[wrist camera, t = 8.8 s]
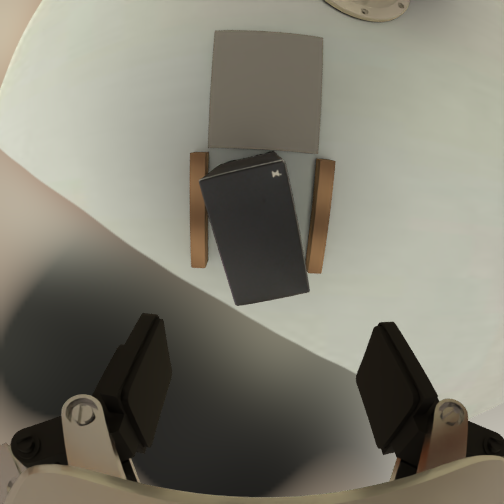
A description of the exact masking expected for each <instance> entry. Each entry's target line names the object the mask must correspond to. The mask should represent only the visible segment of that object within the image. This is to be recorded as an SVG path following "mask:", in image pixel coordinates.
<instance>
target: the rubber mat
mask: <svg viewBox="0 0 504 504" xmlns="http://www.w3.org/2000/svg"><path fill="white" fill-rule="evenodd" d="M322 68H323V38H321V37H315V36H308V35H300V34H291V33H281V32H267V31H242V30H224V31H215V36H214V48H213V61H212V76H211V92H210V110H209V133H208V148H244V149H264V150H280V151H292V152H304V153H314V154H318V147H319V133H320V116H321V96H322Z"/></svg>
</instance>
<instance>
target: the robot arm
mask: <svg viewBox="0 0 504 504" xmlns="http://www.w3.org/2000/svg"><path fill="white" fill-rule="evenodd" d="M325 1H326V2H327V3H329V4H330V5H332V6H333V7H334V8H336V9H338V10H340V11H342V12H344V13H346V14H348V15H350V16H353V17H356V18H359V19H362V20H367V21H373V22H385V21H390V20H393V19H395V18H398V17H399V16H400V15H402V14H403V13H404V12H405V11H406V10H407V8H408V5H409V1H410V0H325ZM171 376H172V368H171V363H170V358H169V352H168V347H167V340H166V334H165V327H164V321H163V319H159V316H158V315H156V314H147V313H143V314H142V315H141V316H140V318H139V320H138V322H137V323H136V325H135V327H134V329H133V330H132V332H131V334H130V336H129V338H128V339H127V341H126V343H125V345H120V346H119V347H118V348H117V350H116V352H115V353H114V355H113V357H112V359H111V361H110V363H109V364H108V366H107V368H106V370H105V372H104V374H103V376H102V377H101V379H100V381H99V383H98V385H97V387H96V389H95V391H94V393H93V395H92V396H90V395H77V396H74V397H72V398H70V399H69V400H67V401H66V403H65V404H64V406H63V408H62V414H61V416H59V417H56V418H54V419H51V420H48V421H45V422H43V423H39V424H37V425H33V426H31V427H27V428H24V429H22V430H20V431H18V432H17V433H16V434H15V435H14V436H13V438H12V441H11V444H10V445H8V444H7V443H4V444H2V445H0V504H504V439H503V437H502V436H500V434H498V433H496V432H494V431H491V430H489V429H486V428H484V427H482V426H479V425H477V424H475V423H472V422H470V421H468V413H467V410H466V408H465V407H464V406H463V405H462V404H461V403H460V402H458V401H457V400H454V399H443V400H441V401H440V402H439V400H438V398H437V397H438V395H437V393H436V391H435V390H434V388H433V386H432V384H431V382H430V381H429V379H428V377H427V375H426V374H425V372H424V370H423V368H422V367H421V365H420V363H419V362H418V360H417V358H416V356H415V355H414V353H413V351H412V350H411V348H410V347H409V345H408V343H407V342H406V340H405V338H404V337H403V335H402V334H401V332H400V330H399V329H398V327H397V326H396V324H395V323H394V322H380V323H379V324H378V326H375V327H374V329H373V332H372V335H371V338H370V340H369V343H368V346H367V349H366V352H365V354H364V357H363V360H362V362H361V365H360V367H359V370H358V372H357V375H356V383H357V386H358V388H359V391H360V395H361V397H362V400H363V404H364V406H365V410H366V413H367V416H368V419H369V422H370V425H371V429H372V432H373V435H374V438H375V442H376V445H377V447H378V448H380V449H381V450H382V453H383V455H385V454H389V453H394V452H395V454H396V457H397V459H396V462H395V466H394V469H393V472H392V475H391V478H390V481H389V482H386V483H382V484H377V485H373V486H368V487H363V488H358V489H353V490H347V491H340V492H334V493H326V494H319V495H307V496H294V497H271V498H270V497H260V498H259V497H231V496H217V495H207V494H198V493H191V492H183V491H178V490H171V489H166V488H160V487H156V486H151V485H146V484H142V483H140V481H139V479H138V476H137V473H136V471H135V468H134V465H133V463H132V460H131V458H132V457H134V456H135V453H136V452H140V453H145V451H146V447H151V445H152V442H153V439H154V435H155V432H156V428H157V424H158V421H159V417H160V414H161V410H162V407H163V404H164V400H165V397H166V394H167V390H168V387H169V384H170V380H171Z"/></svg>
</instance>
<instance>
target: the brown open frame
mask: <svg viewBox="0 0 504 504" xmlns="http://www.w3.org/2000/svg"><path fill="white" fill-rule="evenodd" d="M208 163H209V152H193V153H190V240H191V267H193V268H205V267H206V265H207V262H208V213H207V209H206V206H205V202H204V199H203V196H202V192H201V189H200V185H199V180H200V179H201V178H203V177H204V176H205V175H207V174H208ZM334 171H335V161H332V160H327V159H317V158H316V169H315V180H314V191H313V201H312V211H311V220H310V229H309V237H308V246H307V253H306V261H305V264H306V269H307V272H308V273H320V274H321V272H322V266H323V259H324V253H325V246H326V239H327V232H328V224H329V216H330V208H331V200H332V191H333V181H334Z"/></svg>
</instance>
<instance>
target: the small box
mask: <svg viewBox="0 0 504 504" xmlns="http://www.w3.org/2000/svg"><path fill="white" fill-rule="evenodd" d="M199 185H200V189H201V192H202V196H203V199H204V202H205V206H206V209H207V213H208V216H209V220H210V223H211V226H212V230H213V233H214V236H215V240H216V243H217V246H218V250H219V253H220V256H221V260H222V263H223V266H224V270H225V273H226V276H227V279H228V283H229V286H230V289H231V292H232V296H233V299H234V302H235V305H237V306H239V305H247V304H253V303H258V302H263V301H269V300H274V299H279V298H284V297H289V296H294V295H298V294H303V293H307V292H309V291H310V289H309V282H308V276H307V270H306V264H305V258H304V252H303V247H302V241H301V235H300V230H299V225H298V220H297V215H296V210H295V205H294V200H293V194H292V190H291V185H290V181H289V176H288V171H287V167H286V163H285V161H284V160H283V159H282V158H281V157H279V156H278V155H277V153H275V152H274V151H272V152H268V153H266V154H260V155H256V156H254V157H248V158H243V159H240V160H233V161H230V162H227V163H224V164H221V165H219V166H218V167H216V168H215V169H214V170H212V171H211V172H210V173H208V174H207V175H205V176H204V177H203V178H201V179H200V180H199Z"/></svg>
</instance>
